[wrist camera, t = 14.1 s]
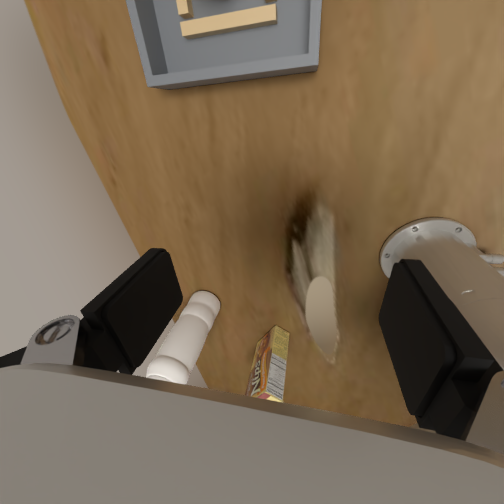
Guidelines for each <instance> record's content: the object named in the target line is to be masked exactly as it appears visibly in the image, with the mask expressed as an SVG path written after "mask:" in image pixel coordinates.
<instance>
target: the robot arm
mask: <svg viewBox="0 0 504 504" xmlns="http://www.w3.org/2000/svg"><path fill="white" fill-rule="evenodd" d="M413 227H414V228H413ZM503 262H504V256H503V255H501V254H484V253H482V252H481V251H480V250H479V249H478V248H477V243H476V240H475V237H474V235H473V234H472V232H471V231H470V230H469V229H468V228H466V227H465V226H464V225H462V224H461V223H459V222H457V221H454V220H452V219H447V218H425V219H420V220H417V221H413V222H411V223H409V224H407V225H404V226H403V227H401V228H400V229H398V230H396V231H395V232H394V233H393V234H392V235H391V236H390V237H389V238H388V239H387V240H386V242H385V243H384V245H383V247H382V249H381V252H380V265H381V268H382V270H383V272H384V273H385V275H386V276H387V277H388V278H389V282H388V285H387V288H386V292H385V295H384V299H383V302H382V306H381V309H380V313H379V323H380V326H381V329H382V333H383V336H384V339H385V342H386V345H387V348H388V351H389V354H390V357H391V360H392V363H393V366H394V369H395V372H396V375H397V378H398V382H399V385H400V388H401V391H402V394H403V397H404V400H405V403H406V406H407V409H408V411H409V413H410V414H411V415H415V417H416V420H417V423H416V424H414V425H412V426H410V427H405V426H400V425H395V424H390V423H386V422H381V421H376V420H371V419H366V418H361V417H356V416H351V415H346V414H341V413H335V412H330V411H325V410H319V409H314V408H309V407H304V406H298V405H293V404H288V403H282V402H277V401H272V400H267V399H261V398H256V397H250V396H245V395H239V394H234V393H229V392H223V391H218V390H212V389H207V388H201V387H196V386H190V385H185V384H179V383H174V382H168V381H163V380H157V379H151V378H146V377H140V376H134V375H132V374H133V372H134V371H135V369H136V368H137V367H139V366H140V365H141V364H142V363H143V361H144V360H145V358H146V357H147V355H148V354H149V352H150V351H151V349H152V348H153V346H154V345H155V343H156V342H157V340H158V338H159V337H160V335H161V334H162V332H163V331H164V329H165V328H166V326H167V325H168V323H169V321H170V320H171V319H172V317H173V316H174V314H175V313H176V311H177V309H178V308H179V306H180V305H181V303H182V300H183V296H182V292H181V289H180V286H179V283H178V279H177V276H176V273H175V270H174V266H173V263H172V260H171V257H170V254H169V253H168V252H167V251H166V250H165V249H162V248H151V249H149V250H148V251H147V252H146V253H145V254H144V255H143V256H141V257H140V259H138V260H137V261H136V262H135V263H134V264H132V265H131V266H130V267H129V268H128V269H127V270H126V271H124V272H123V273H122V274H121V275H120V276H119V277H118V278H117V279H116V280H114V281H113V282H112V283H111V284H110V285H109V286H108V287H106V288H105V289H104V290H103V291H102V292H101V293H100V294H99V295H97V296H96V297H95V298H94V299H93V300H92V301H90V302H89V303H88V304H87V305H86V306H85V307H84V308H83V309H81V313H82V314H83V316H84V318H83V319H82V320H80V319H79V318H78V317H77V316H74V315H68V316H63V317H59V318H57V319H55V320H52V321H50V322H48V323H47V324H45V325H43V326H42V327H41V328H39V329H38V330H37V331H36V332H35V333H34V334H33V335H32V337H31V339H30V341H29V343H28V346H27V347H24V348H22V349H19V350H17V351H15V352H12V353H10V354H7V355H5V356H2V357H0V504H504V268H503V267H492V266H491V265H490V264H502V263H503ZM488 263H490V264H488ZM117 370H119V372H120V373H117Z"/></svg>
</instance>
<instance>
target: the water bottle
mask: <svg viewBox="0 0 504 504" xmlns="http://www.w3.org/2000/svg"><path fill="white" fill-rule="evenodd" d="M219 310H220V302H219V300H218V298H217V297H216V296H215V295H214V294H212V293H210V292H207V291H198V292H195V293H194V294H193V295H192V297H191V298H190V300H189V302H188V304H187V306H186V307H185V308H184V310H183V311H182V313H181V315H180V317H179V319H178V321H177V322H176V323H175V325H174V326H173V327H172V329H171V331H170V332H169V334H168V335H167V337H166V338H165V340H164V342H163V343H162V345H161V347H160V349H159V351H158V353H157V355H156V356H155V358H154V359H153V360H152V361H151V362H150V364H149V366H148V368H147V374H146V378H151V379H157V380H163V381H168V382H174V383H179V384H185V385H186V383H187V382H188V379H189V374H190V372H191V371H192V369H193V366H194V365H195V363H196V361H197V359H198V357H199V354H200V352H201V350H202V348H203V345H204V343H205V340H206V338H207V335H208V332H209V331H210V329H211V327H212V325H213V323H214V319H215V318H216V316H217V314H218V312H219Z"/></svg>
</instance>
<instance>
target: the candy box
mask: <svg viewBox="0 0 504 504" xmlns="http://www.w3.org/2000/svg"><path fill="white" fill-rule="evenodd" d="M288 343H289V332H287V331H285V330H283V329H282V328H280V327H278V326H277V325H275V326H274V327H273V328H272V329H271V330H270V331H269V332H268V333H267V334H266V335H265V336H264V337H263V338H262V339H261V340H260V341H259V342H258V343H257V347H256V351H255V355H254V360H253V364H252V368H251V372H250V377H249V381H248V385H247V389H246V394H245V396H250V397H256V398H261V399H267V400H272V401H277V402H283V394H284V383H285V374H286V363H287V353H288Z"/></svg>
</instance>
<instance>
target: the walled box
mask: <svg viewBox="0 0 504 504" xmlns="http://www.w3.org/2000/svg"><path fill="white" fill-rule="evenodd" d="M126 3H127V7H128V11H129V15H130V19H131V23H132V27H133V31H134V35H135V39H136V43H137V46H138V50H139V54H140V58H141V62H142V66H143V70H144V74H145V78H146V82H147V86H148V87H152V88H160V89H167V90H170V89H178V88H186V87H194V86H202V85H210V84H218V83H226V82H234V81H242V80H250V79H258V78H266V77H274V76H282V75H290V74H298V73H306V72H314V71H317V68H318V59H319V41H320V22H321V4H322V0H126Z"/></svg>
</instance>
